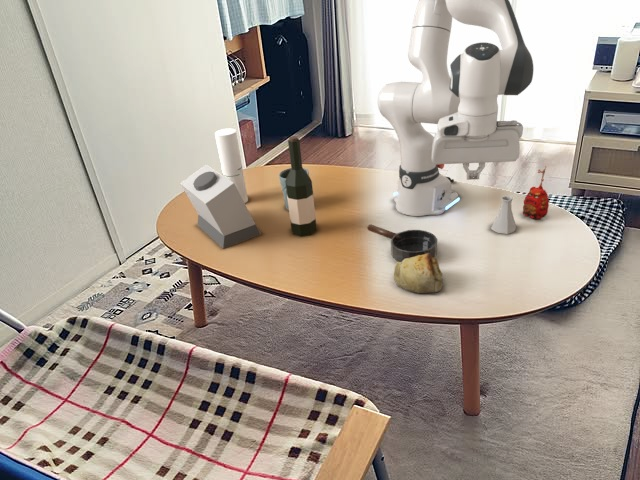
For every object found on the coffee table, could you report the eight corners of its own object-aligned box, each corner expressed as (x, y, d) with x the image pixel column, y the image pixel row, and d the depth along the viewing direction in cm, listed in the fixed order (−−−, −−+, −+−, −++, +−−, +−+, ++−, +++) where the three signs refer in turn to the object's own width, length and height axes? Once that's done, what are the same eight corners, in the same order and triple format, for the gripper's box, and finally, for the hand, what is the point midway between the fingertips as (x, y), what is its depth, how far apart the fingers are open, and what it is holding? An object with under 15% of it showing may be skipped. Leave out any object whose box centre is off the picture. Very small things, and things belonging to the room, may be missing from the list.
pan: (410, 239, 169) (410, 225, 166) (445, 252, 161) (446, 238, 158) (381, 256, 162) (381, 243, 160) (417, 271, 154) (418, 257, 152)
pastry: (453, 287, 147) (455, 261, 142) (412, 301, 143) (412, 275, 138) (424, 263, 157) (425, 238, 152) (385, 276, 154) (384, 250, 149)
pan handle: (365, 230, 170) (365, 225, 169) (370, 228, 171) (370, 222, 170) (396, 242, 163) (396, 236, 162) (401, 239, 164) (401, 233, 163)
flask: (520, 227, 169) (524, 196, 163) (508, 236, 165) (512, 205, 159) (498, 220, 173) (501, 190, 167) (486, 230, 169) (489, 199, 163)
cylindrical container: (252, 198, 203) (240, 129, 188) (239, 206, 198) (226, 136, 183) (236, 195, 206) (223, 127, 191) (224, 203, 201) (210, 134, 186)
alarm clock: (260, 234, 180) (250, 174, 168) (216, 251, 174) (202, 189, 162) (233, 213, 194) (221, 156, 182) (191, 227, 188) (176, 170, 176)
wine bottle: (314, 236, 175) (304, 142, 157) (288, 236, 177) (275, 142, 159) (319, 224, 182) (310, 132, 164) (294, 224, 184) (282, 132, 166)
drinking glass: (294, 215, 189) (290, 181, 182) (277, 206, 195) (272, 173, 188) (318, 205, 193) (314, 171, 186) (300, 196, 200) (296, 164, 193)
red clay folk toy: (517, 215, 175) (523, 169, 166) (530, 207, 178) (536, 162, 169) (539, 223, 170) (547, 176, 161) (552, 214, 173) (560, 168, 164)
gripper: (522, 115, 129) (515, 171, 138) (432, 119, 133) (430, 174, 142) (526, 125, 125) (518, 182, 133) (432, 129, 128) (431, 185, 137)
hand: (472, 178), depth 137 cm, fingers closed
